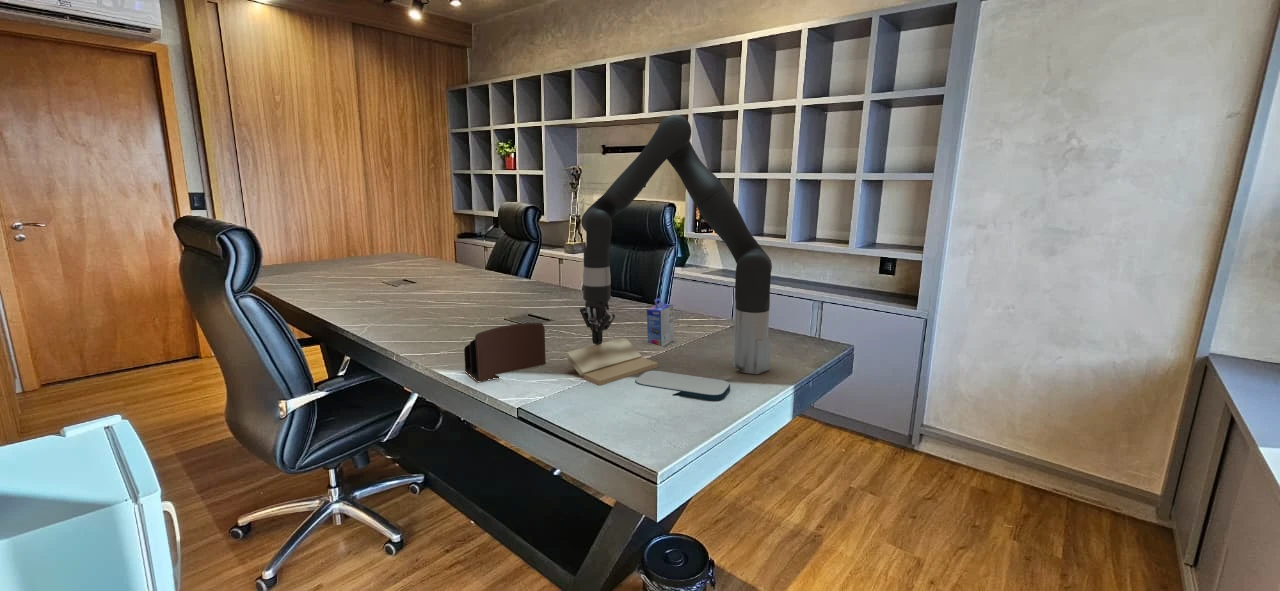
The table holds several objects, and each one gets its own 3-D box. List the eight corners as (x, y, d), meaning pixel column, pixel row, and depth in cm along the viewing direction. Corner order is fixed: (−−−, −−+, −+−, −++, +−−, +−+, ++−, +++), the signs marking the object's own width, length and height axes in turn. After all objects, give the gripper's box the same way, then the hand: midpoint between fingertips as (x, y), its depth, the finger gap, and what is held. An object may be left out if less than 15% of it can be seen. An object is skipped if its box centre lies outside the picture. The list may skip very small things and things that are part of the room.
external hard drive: (732, 388, 148) (733, 381, 148) (720, 404, 138) (721, 396, 138) (647, 376, 157) (648, 369, 157) (630, 390, 147) (630, 382, 147)
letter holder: (546, 368, 162) (545, 320, 159) (478, 383, 150) (475, 331, 148) (530, 360, 170) (529, 313, 167) (464, 373, 158) (461, 323, 155)
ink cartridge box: (659, 338, 193) (659, 295, 190) (674, 340, 190) (675, 297, 187) (646, 345, 184) (646, 301, 181) (661, 348, 182) (662, 303, 179)
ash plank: (639, 359, 165) (641, 355, 164) (581, 376, 150) (583, 372, 150) (623, 341, 169) (625, 337, 168) (565, 356, 155) (566, 352, 154)
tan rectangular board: (660, 370, 160) (660, 362, 160) (596, 391, 145) (596, 381, 144) (621, 357, 172) (621, 349, 172) (558, 375, 157) (557, 366, 156)
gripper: (623, 284, 155) (623, 346, 159) (592, 277, 165) (592, 336, 168) (601, 287, 150) (602, 351, 154) (571, 281, 159) (572, 341, 163)
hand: (597, 343), depth 161 cm, fingers closed
